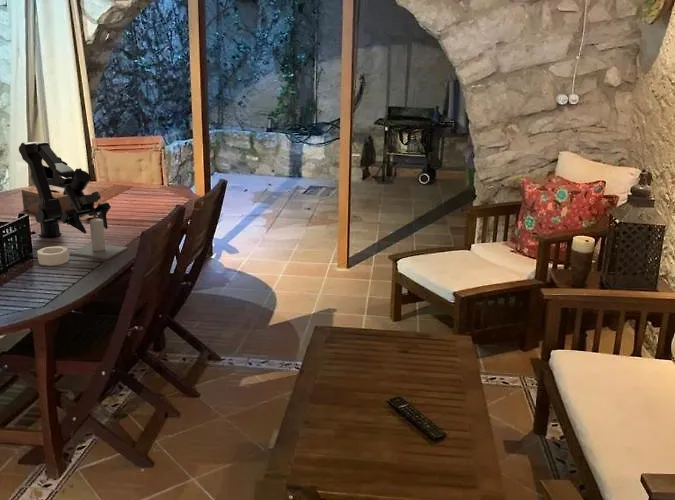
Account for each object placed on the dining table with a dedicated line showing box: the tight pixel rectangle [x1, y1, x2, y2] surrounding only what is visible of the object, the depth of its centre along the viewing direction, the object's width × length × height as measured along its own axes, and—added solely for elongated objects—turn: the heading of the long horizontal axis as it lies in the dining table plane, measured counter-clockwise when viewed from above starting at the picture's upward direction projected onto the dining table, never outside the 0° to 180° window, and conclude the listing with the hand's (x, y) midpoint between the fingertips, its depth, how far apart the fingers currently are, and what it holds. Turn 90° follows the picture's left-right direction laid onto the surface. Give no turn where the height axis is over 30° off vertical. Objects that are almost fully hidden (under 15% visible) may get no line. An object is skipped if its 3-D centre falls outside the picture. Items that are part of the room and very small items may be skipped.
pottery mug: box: [79, 205, 98, 219], centre depth 305 cm, size 12×10×8 cm
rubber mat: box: [69, 242, 128, 260], centre depth 261 cm, size 16×14×1 cm
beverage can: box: [89, 218, 106, 252], centre depth 259 cm, size 5×5×12 cm
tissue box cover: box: [21, 185, 75, 215], centre depth 316 cm, size 26×14×10 cm, turn 57°
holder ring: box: [36, 245, 70, 267], centre depth 249 cm, size 10×10×4 cm
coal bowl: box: [30, 156, 69, 188], centre depth 347 cm, size 20×20×19 cm
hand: (96, 230), depth 258 cm, fingers open, 9 cm apart
